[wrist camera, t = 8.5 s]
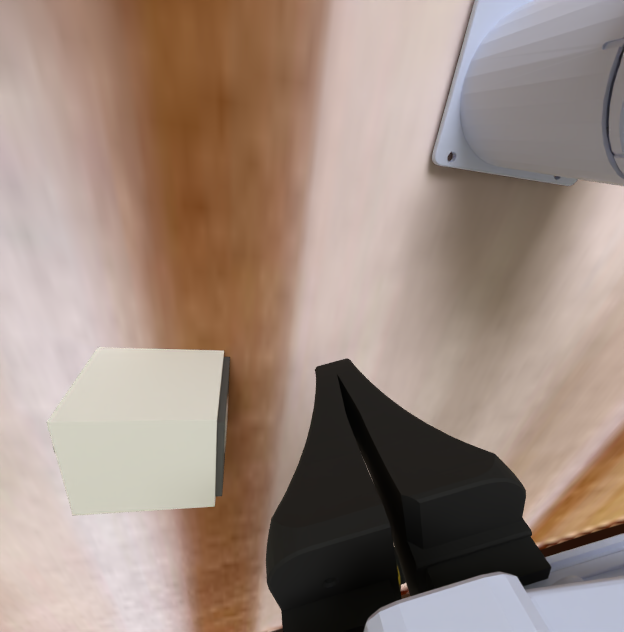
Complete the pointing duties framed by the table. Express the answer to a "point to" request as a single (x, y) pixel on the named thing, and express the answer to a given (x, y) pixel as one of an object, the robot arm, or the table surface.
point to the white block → (143, 430)
